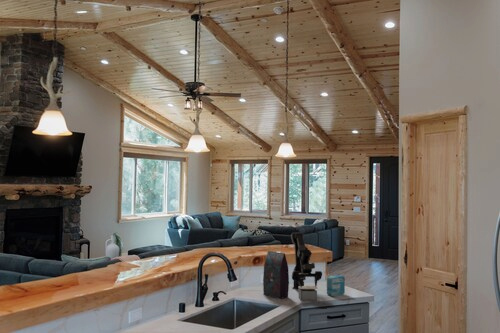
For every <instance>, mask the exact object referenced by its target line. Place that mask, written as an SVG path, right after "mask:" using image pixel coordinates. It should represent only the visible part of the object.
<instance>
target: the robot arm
mask: <svg viewBox="0 0 500 333" xmlns="http://www.w3.org/2000/svg"><path fill="white" fill-rule="evenodd" d="M304 238H305V234H304V233H303V232H292V233H291V234H290V239H291V243H292V244H293V245H294V246H293V247H294V258H295V261H294V262H295V266H294V268H293V271H292V272H291V273H292V274H291V280H292V281H293V287H292V289H294V290H299V288H298V286H300V287H302V286H305V281H306V278H310V277H311V278H312V277H313V279H314V286H315V287H318V281H320V280H321V279H322V277H323V272H322V271H321V270H315V272H314V273H313V269H315V268H316V265H315V262H312V263H310V262H311V258H312V257H311V256H312V251H311V250H310V249H308V247H307V246H306V244H305V240H304Z"/></svg>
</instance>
